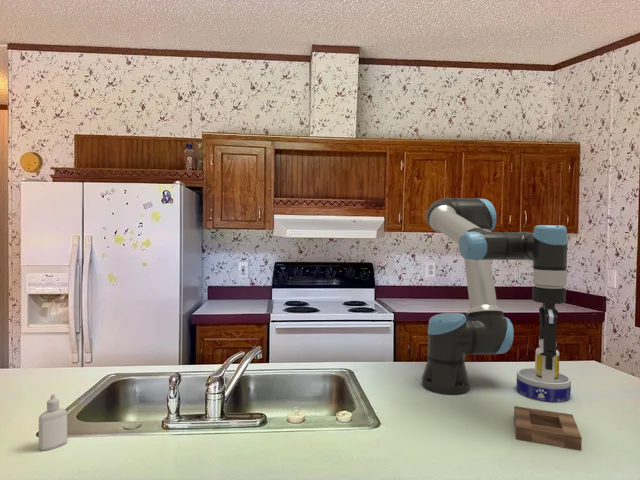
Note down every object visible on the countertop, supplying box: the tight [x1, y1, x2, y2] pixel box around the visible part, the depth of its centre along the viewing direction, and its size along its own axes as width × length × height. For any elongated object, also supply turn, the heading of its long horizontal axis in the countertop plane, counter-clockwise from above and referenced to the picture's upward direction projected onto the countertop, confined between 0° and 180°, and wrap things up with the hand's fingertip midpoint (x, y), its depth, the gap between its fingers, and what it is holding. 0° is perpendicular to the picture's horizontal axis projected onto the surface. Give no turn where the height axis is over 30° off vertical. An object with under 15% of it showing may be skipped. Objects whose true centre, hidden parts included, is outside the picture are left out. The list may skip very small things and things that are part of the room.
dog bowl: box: [516, 367, 572, 404], centre depth 141 cm, size 15×15×6 cm
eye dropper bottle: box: [38, 393, 68, 451], centre depth 104 cm, size 4×6×12 cm
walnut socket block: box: [513, 405, 583, 451], centre depth 114 cm, size 14×14×3 cm
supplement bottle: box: [534, 338, 560, 382], centre depth 113 cm, size 5×5×10 cm
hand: (546, 377), depth 114 cm, fingers closed on supplement bottle, 5 cm apart
